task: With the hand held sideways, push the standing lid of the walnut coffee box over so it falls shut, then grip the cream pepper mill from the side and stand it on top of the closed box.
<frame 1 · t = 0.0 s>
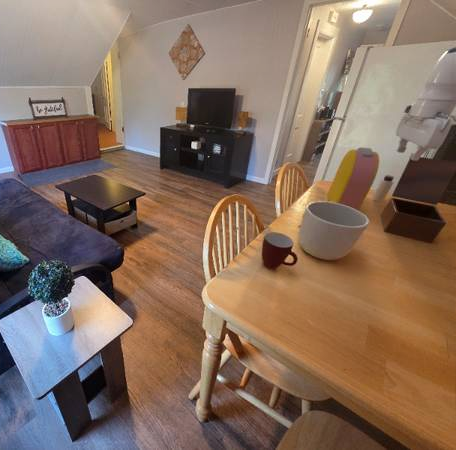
hand: (406, 155, 81), 29 cm above the table, tool pointing down, fingers open, 8 cm apart
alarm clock: (340, 204, 115), on the table
mug: (274, 266, 78), on the table
decorative bird: (308, 224, 100), on the table
planter: (318, 251, 85), on the table
pepper mill: (377, 199, 120), on the table
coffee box: (403, 228, 98), on the table
lid: (423, 180, 96), point 17 cm above the table, hinge at 105.1°
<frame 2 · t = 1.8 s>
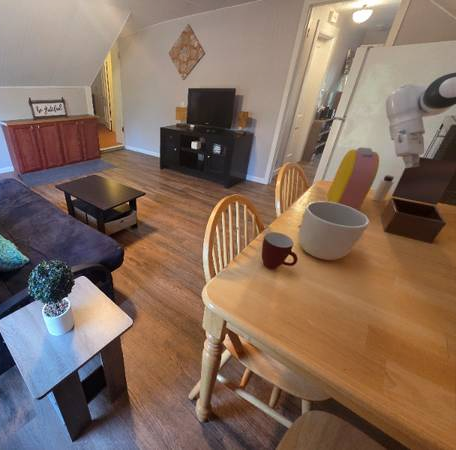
hand: (412, 167, 92), 23 cm above the table, tool tilted 35°, fingers open, 7 cm apart
lid: (423, 180, 96), point 17 cm above the table, hinge at 105.6°, touching gripper
everything else where it was.
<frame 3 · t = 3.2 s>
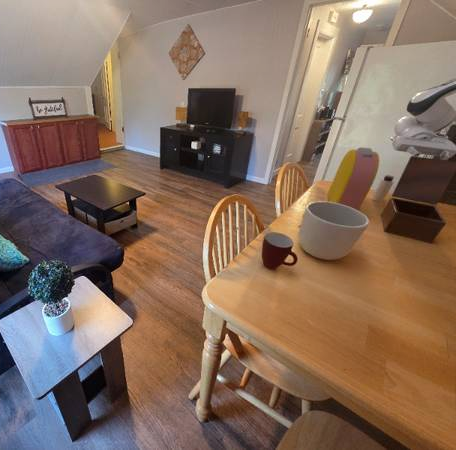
hand: (431, 156, 96), 25 cm above the table, tool horizontal, fingers open, 8 cm apart
lid: (423, 180, 96), point 17 cm above the table, hinge at 105.1°
everything else where it was.
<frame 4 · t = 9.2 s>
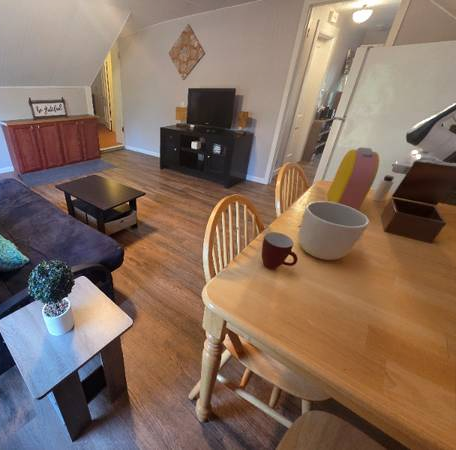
hand: (430, 176, 91), 20 cm above the table, tool horizontal, fingers closed
lid: (426, 183, 93), point 17 cm above the table, hinge at 75.5°, touching gripper
everything else where it was.
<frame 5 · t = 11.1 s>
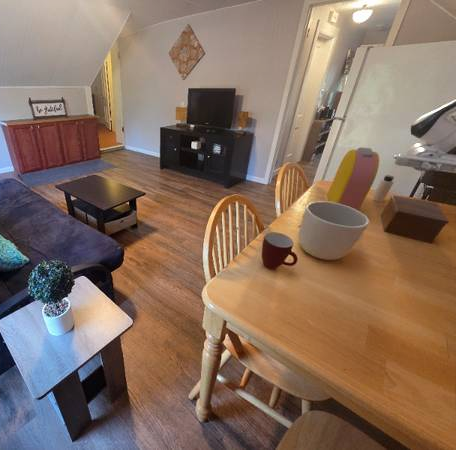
hand: (433, 168, 91), 23 cm above the table, tool horizontal, fingers closed
lid: (417, 208, 93), point 9 cm above the table, hinge at -0.1°
everything else where it was.
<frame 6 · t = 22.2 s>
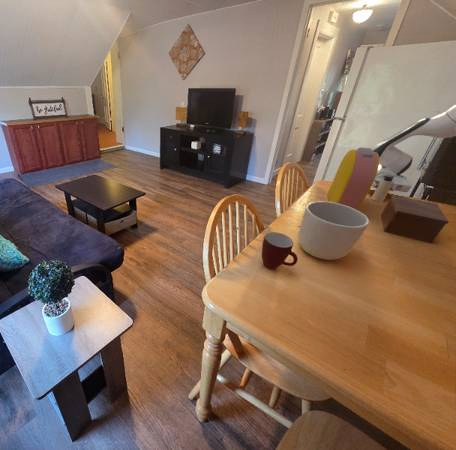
hand: (384, 187, 116), 7 cm above the table, tool horizontal, fingers closed on pepper mill, 5 cm apart
pepper mill: (377, 199, 120), on the table, touching gripper
everything else where it was.
when the fingers open (16 cm above the table, at t = 30.0 s): pepper mill stays where it is, resting on lid.
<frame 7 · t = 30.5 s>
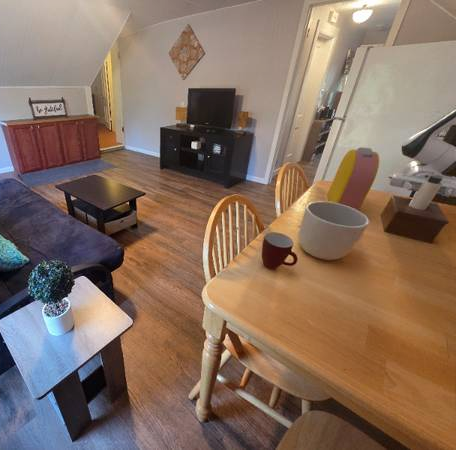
hand: (428, 191, 89), 16 cm above the table, tool horizontal, fingers open, 8 cm apart
pepper mill: (417, 206, 93), point 10 cm above the table, touching lid
lid: (417, 208, 93), point 9 cm above the table, hinge at -0.2°, touching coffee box, pepper mill
everything else where it was.
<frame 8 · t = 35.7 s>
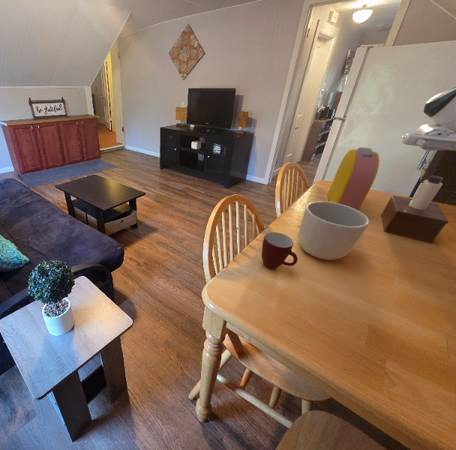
hand: (442, 146, 90), 30 cm above the table, tool horizontal, fingers open, 8 cm apart
nothing on the table moved.
at the end: lid at +0° (first picture: +105°); pepper mill inside the target area on the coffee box (0.1 cm from its centre), point 9.7 cm above the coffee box's base; pepper mill tilted 0° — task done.
